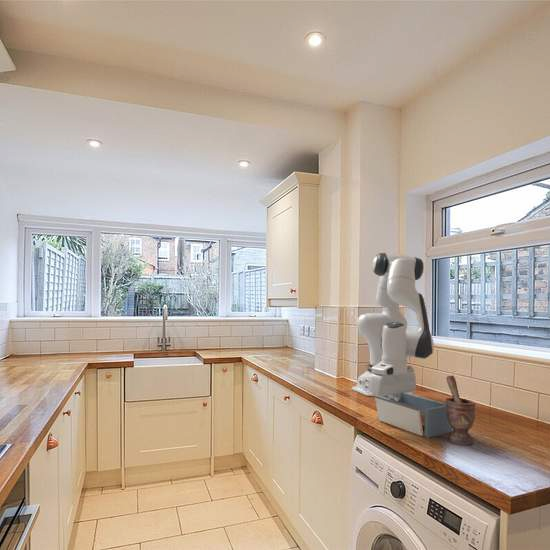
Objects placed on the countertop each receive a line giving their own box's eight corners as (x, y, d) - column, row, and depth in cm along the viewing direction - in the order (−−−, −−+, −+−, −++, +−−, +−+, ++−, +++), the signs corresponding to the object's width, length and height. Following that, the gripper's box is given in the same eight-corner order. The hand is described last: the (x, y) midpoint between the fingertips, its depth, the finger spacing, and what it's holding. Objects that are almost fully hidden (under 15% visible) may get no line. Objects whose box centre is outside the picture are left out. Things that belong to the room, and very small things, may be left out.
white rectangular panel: (378, 420, 148) (374, 395, 147) (380, 419, 148) (376, 394, 148) (421, 436, 132) (416, 408, 131) (423, 434, 132) (418, 407, 131)
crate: (377, 419, 150) (377, 395, 150) (401, 414, 157) (401, 391, 157) (427, 437, 131) (427, 410, 131) (452, 431, 137) (452, 405, 138)
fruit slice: (443, 432, 136) (443, 417, 137) (428, 434, 134) (428, 419, 134) (425, 425, 144) (425, 411, 145) (411, 426, 142) (411, 412, 142)
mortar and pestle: (433, 435, 133) (433, 375, 134) (452, 432, 136) (452, 374, 137) (460, 447, 122) (460, 382, 124) (481, 444, 126) (480, 381, 127)
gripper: (406, 364, 151) (406, 400, 150) (367, 368, 141) (368, 407, 140) (420, 366, 146) (420, 404, 145) (381, 370, 135) (381, 412, 134)
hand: (394, 406), depth 142 cm, fingers closed
